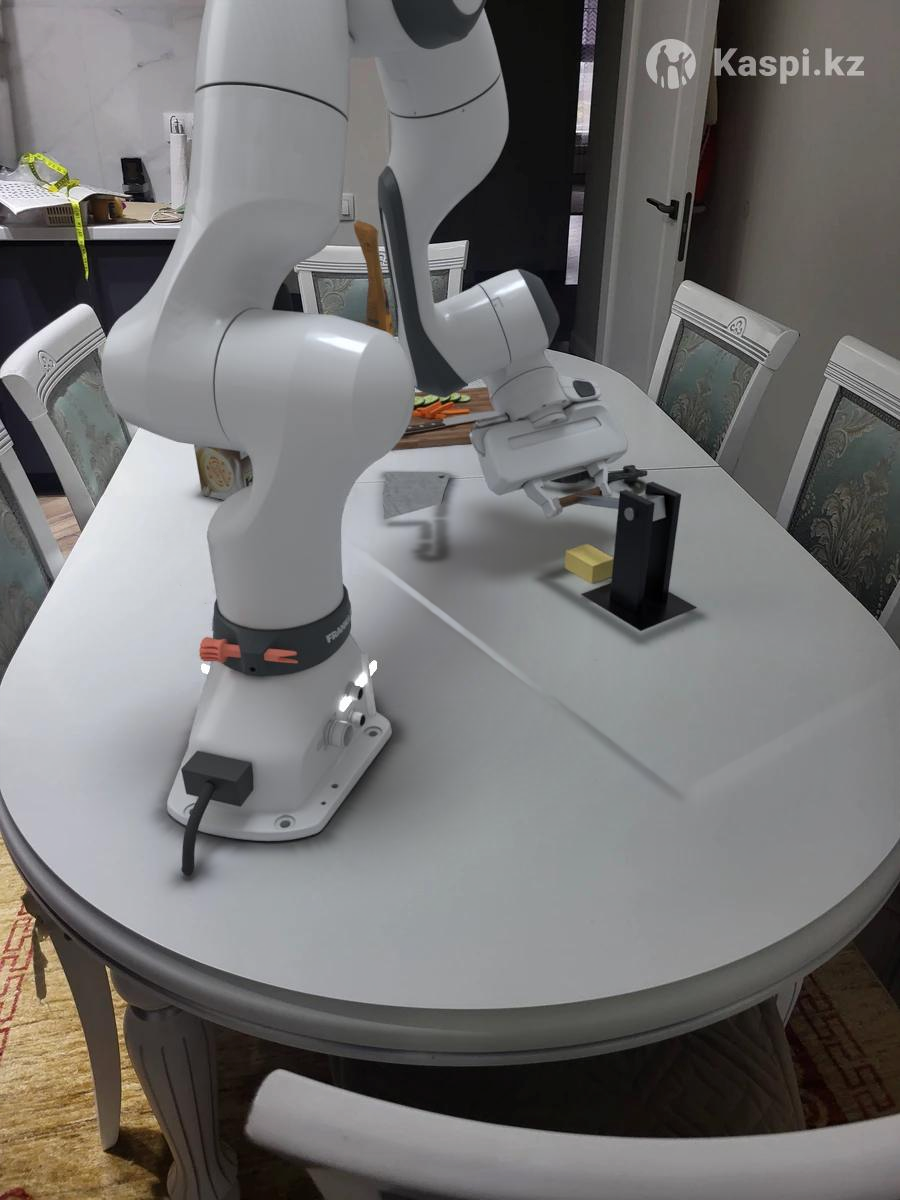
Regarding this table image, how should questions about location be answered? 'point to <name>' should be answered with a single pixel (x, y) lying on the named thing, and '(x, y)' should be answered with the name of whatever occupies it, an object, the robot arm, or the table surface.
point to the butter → (589, 563)
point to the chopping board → (445, 418)
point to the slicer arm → (610, 501)
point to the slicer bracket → (643, 562)
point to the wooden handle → (374, 279)
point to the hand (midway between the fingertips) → (580, 507)
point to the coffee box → (222, 471)
